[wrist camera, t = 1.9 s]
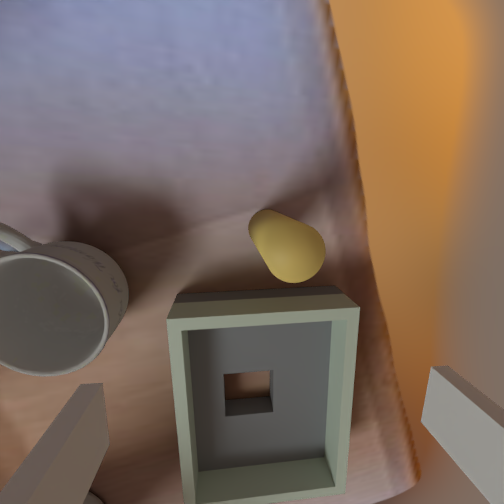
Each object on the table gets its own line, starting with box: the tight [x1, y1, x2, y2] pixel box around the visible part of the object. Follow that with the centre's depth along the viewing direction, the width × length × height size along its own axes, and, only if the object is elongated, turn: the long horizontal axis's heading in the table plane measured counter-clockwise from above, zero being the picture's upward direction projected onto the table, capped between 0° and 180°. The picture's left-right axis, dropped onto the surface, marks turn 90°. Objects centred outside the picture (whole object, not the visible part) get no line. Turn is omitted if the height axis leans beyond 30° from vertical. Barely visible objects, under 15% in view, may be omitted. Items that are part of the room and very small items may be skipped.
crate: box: [166, 286, 360, 504], centre depth 31 cm, size 23×18×6 cm
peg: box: [248, 209, 325, 283], centre depth 24 cm, size 4×4×12 cm
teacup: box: [0, 223, 129, 376], centre depth 24 cm, size 14×11×8 cm
